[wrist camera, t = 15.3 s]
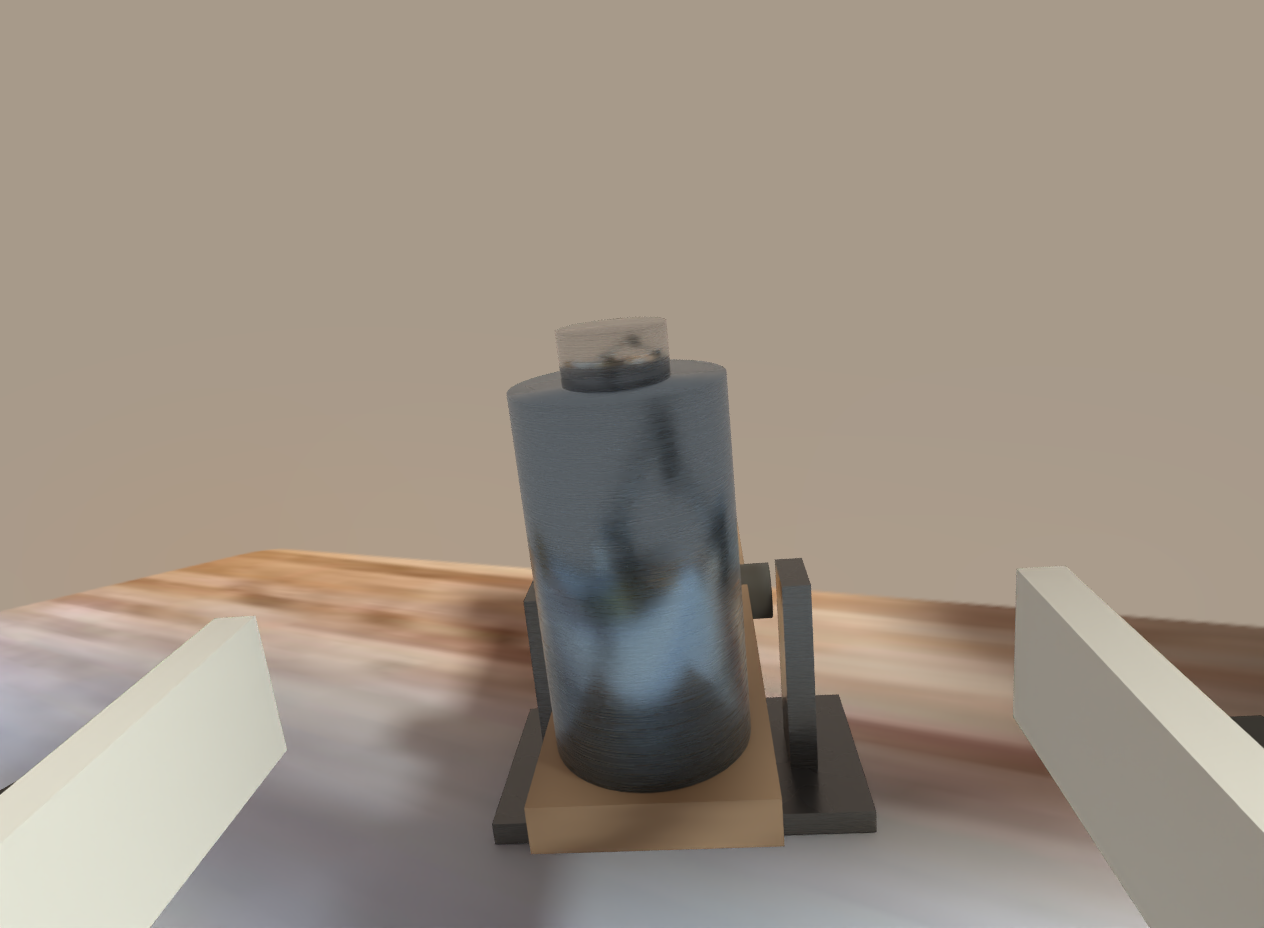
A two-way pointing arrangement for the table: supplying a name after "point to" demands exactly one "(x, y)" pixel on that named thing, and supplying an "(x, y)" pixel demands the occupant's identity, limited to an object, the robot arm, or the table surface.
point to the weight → (635, 556)
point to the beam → (679, 819)
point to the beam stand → (800, 726)
